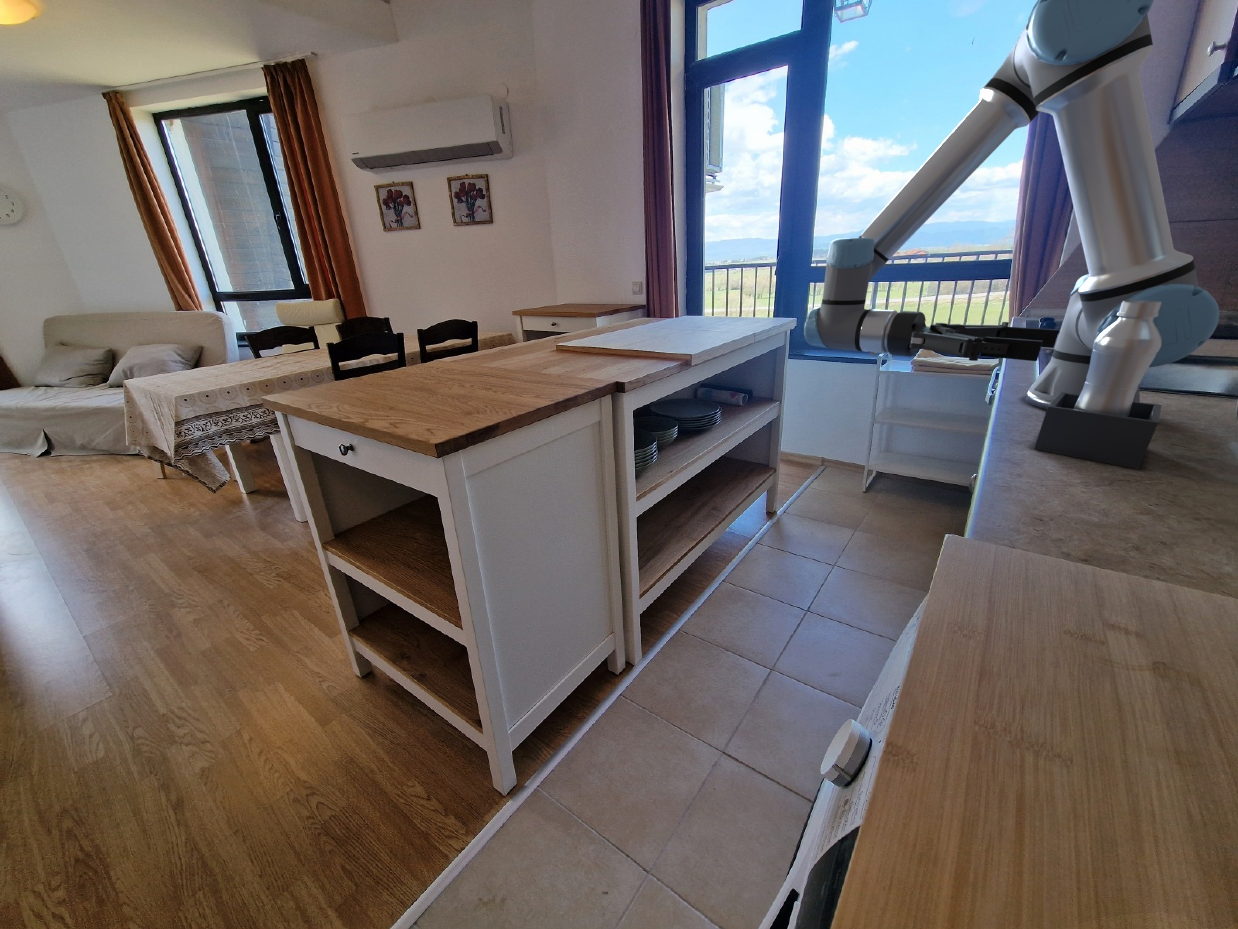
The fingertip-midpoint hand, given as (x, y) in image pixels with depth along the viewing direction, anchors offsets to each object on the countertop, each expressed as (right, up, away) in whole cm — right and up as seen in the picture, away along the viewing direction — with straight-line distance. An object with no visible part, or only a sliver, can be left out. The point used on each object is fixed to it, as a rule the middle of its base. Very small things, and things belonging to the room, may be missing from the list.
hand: (1048, 344), depth 71 cm
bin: (+6, -15, 0) cm, 16 cm away
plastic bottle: (+6, -15, 0) cm, 16 cm away
